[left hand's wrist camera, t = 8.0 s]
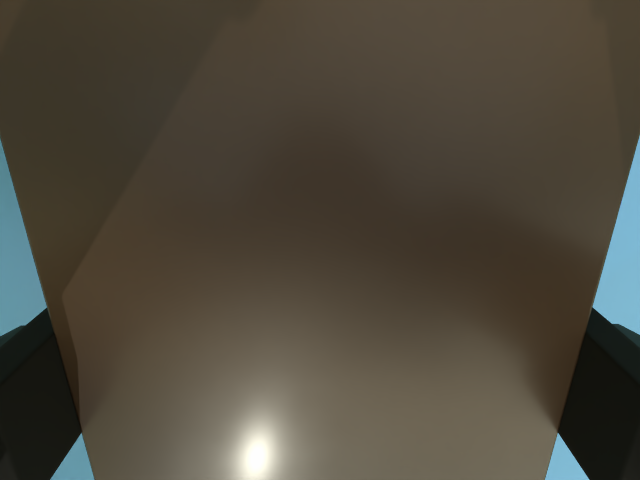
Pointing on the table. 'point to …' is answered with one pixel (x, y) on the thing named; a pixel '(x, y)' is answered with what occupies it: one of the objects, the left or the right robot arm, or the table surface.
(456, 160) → the brown block
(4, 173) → the table surface
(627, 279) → the table surface
